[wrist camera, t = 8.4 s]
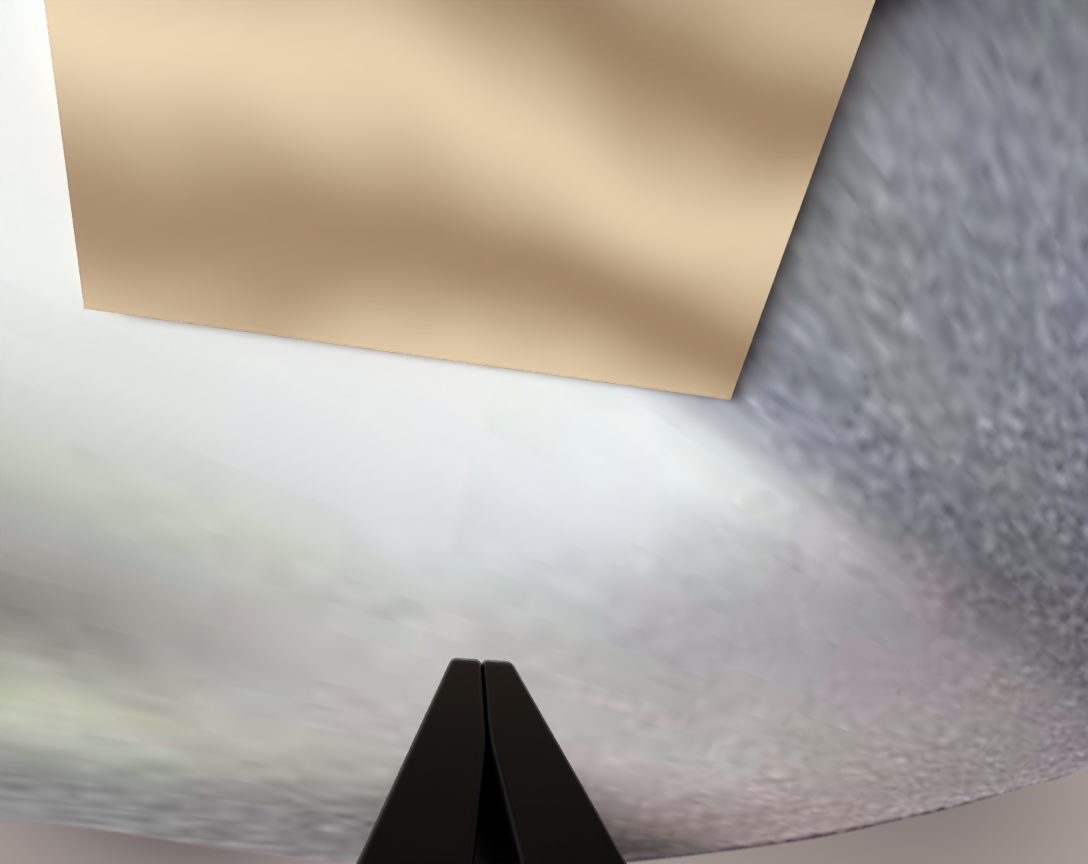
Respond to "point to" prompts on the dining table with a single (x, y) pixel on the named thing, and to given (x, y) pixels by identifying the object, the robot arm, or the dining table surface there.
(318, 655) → the dining table surface
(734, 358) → the base
